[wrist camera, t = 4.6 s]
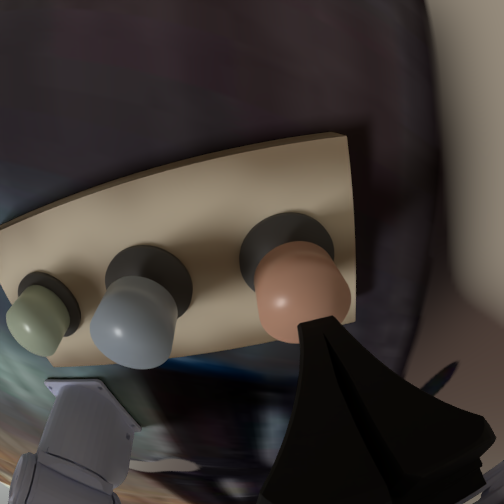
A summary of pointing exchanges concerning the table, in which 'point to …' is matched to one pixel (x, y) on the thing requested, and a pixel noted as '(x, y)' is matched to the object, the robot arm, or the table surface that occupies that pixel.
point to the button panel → (187, 239)
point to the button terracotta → (298, 289)
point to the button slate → (135, 323)
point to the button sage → (38, 320)
